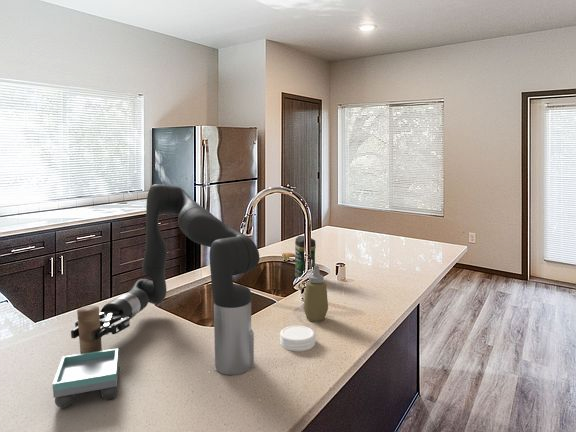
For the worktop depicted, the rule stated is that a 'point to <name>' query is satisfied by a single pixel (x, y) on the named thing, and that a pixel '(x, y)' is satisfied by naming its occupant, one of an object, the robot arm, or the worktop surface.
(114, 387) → the wheeled cart
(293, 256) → the pastry
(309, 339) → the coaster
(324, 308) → the squeeze bottle
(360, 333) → the worktop surface
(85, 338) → the cylinder
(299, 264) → the coffee jar
